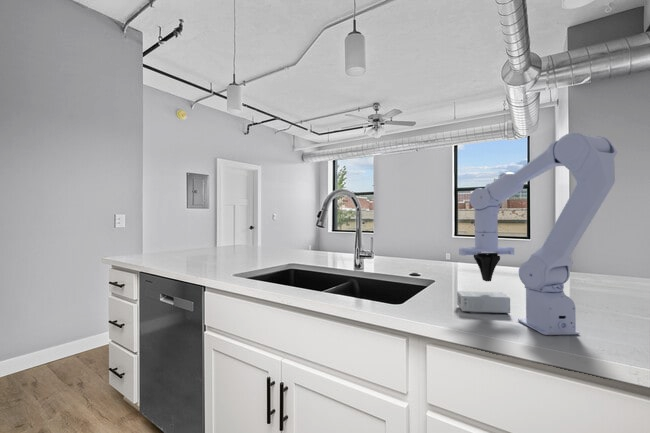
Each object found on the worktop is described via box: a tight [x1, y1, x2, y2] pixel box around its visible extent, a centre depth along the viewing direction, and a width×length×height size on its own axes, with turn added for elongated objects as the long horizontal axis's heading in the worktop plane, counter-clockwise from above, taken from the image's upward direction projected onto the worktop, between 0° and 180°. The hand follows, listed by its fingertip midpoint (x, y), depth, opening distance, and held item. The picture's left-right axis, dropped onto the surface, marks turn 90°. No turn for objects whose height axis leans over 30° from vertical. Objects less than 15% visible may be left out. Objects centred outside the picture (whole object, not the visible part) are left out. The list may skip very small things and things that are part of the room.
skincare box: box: [456, 290, 511, 314], centre depth 85 cm, size 6×4×12 cm
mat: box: [467, 311, 496, 314], centre depth 87 cm, size 7×10×1 cm, turn 90°
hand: (486, 280), depth 87 cm, fingers closed
